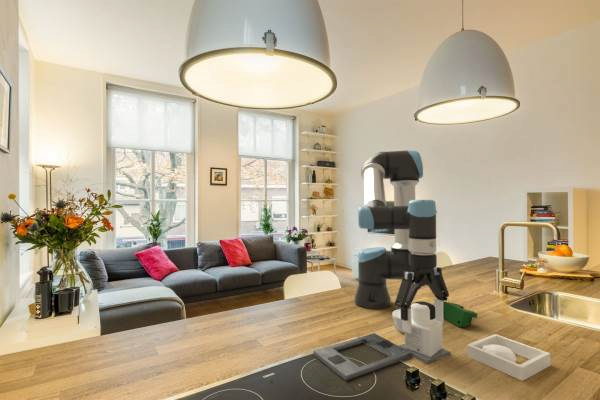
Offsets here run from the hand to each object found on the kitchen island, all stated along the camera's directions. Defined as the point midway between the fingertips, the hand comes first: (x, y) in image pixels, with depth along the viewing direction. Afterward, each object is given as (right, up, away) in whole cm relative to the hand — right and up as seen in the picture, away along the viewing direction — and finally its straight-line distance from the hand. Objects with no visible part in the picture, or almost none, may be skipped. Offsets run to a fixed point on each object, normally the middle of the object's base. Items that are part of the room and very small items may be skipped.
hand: (423, 326), depth 91 cm
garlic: (+18, -7, -5) cm, 20 cm away
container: (0, -7, 0) cm, 7 cm away
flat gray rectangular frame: (-18, -7, -2) cm, 20 cm away
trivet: (0, -7, 0) cm, 7 cm away
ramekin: (+2, -8, +16) cm, 18 cm away
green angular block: (+21, -7, +22) cm, 31 cm away
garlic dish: (+20, -7, -6) cm, 22 cm away
